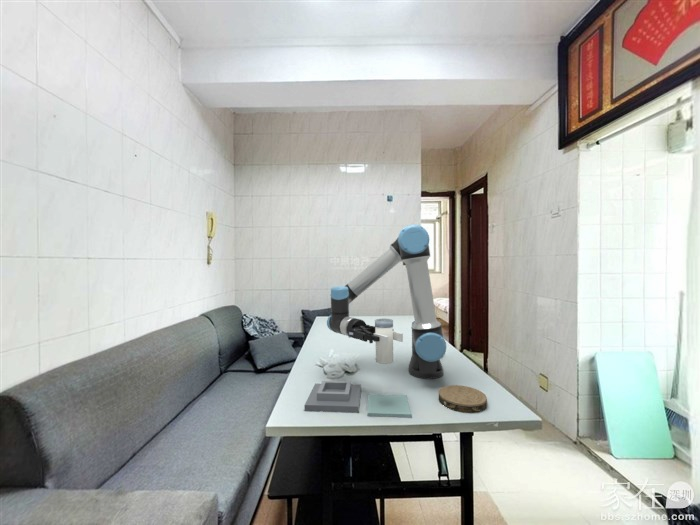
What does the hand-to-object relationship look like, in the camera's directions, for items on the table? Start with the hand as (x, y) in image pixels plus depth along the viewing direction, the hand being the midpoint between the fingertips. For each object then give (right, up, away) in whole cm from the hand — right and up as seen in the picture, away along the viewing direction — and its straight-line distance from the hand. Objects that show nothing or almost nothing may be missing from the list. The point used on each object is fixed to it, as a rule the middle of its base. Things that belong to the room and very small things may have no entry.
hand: (394, 339), depth 98 cm
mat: (-2, -24, +4) cm, 24 cm away
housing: (-20, -24, +9) cm, 33 cm away
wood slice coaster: (+25, -24, +7) cm, 35 cm away
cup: (-3, -9, +4) cm, 10 cm away
